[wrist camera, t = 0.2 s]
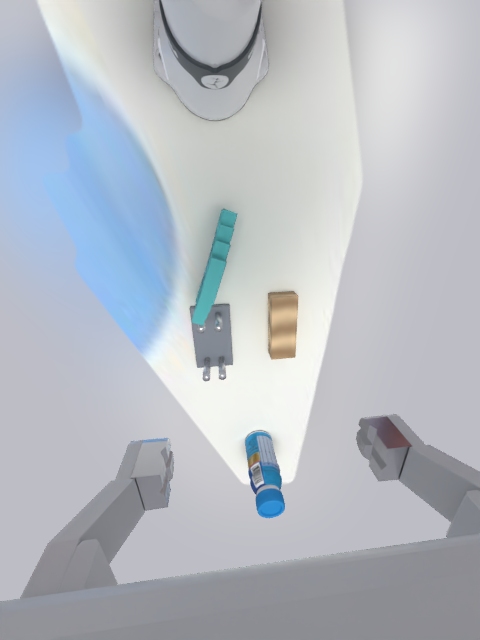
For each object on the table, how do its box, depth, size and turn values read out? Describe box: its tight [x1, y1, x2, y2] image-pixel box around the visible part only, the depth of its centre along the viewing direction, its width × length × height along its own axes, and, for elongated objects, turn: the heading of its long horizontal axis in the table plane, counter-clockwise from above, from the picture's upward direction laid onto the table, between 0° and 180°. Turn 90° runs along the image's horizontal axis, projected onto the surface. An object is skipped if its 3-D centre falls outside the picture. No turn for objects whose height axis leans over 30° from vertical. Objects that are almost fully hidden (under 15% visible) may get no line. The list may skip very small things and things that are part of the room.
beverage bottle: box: [245, 431, 285, 518], centre depth 68 cm, size 8×8×20 cm
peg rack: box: [190, 304, 233, 381], centre depth 58 cm, size 16×9×9 cm, turn 2°
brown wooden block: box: [268, 291, 298, 359], centre depth 61 cm, size 16×6×4 cm, turn 3°
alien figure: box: [192, 209, 237, 325], centre depth 45 cm, size 20×2×20 cm, turn 161°
